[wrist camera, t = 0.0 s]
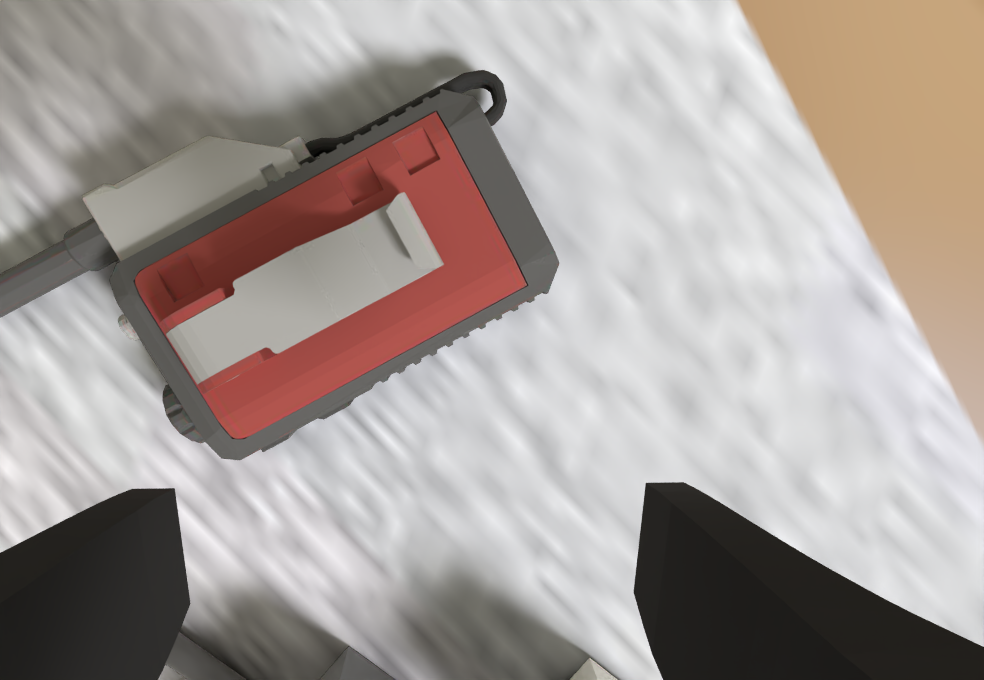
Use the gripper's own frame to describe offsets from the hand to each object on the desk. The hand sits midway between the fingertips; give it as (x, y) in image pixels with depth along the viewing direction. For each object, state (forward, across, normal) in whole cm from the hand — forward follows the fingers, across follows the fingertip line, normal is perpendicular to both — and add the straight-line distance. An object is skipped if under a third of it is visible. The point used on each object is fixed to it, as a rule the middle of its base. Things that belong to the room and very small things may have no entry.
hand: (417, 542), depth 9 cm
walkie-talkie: (+12, +6, -1) cm, 13 cm away
